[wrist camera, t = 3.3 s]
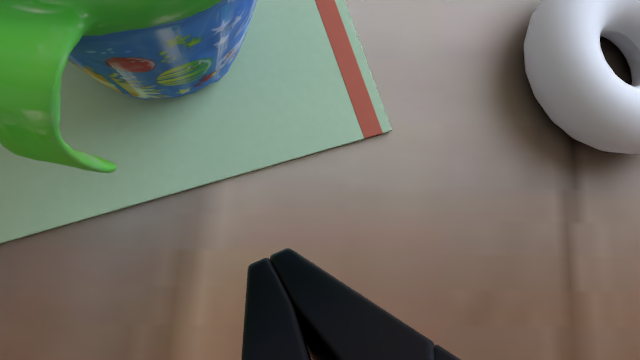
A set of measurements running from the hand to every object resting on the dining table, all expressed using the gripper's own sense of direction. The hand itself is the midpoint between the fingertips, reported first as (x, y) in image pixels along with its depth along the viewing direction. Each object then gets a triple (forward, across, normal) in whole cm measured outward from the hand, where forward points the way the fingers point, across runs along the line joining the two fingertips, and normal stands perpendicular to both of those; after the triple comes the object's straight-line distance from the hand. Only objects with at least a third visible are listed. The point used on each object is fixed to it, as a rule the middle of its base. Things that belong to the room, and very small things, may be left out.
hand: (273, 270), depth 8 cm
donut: (+9, -21, +6) cm, 23 cm away
